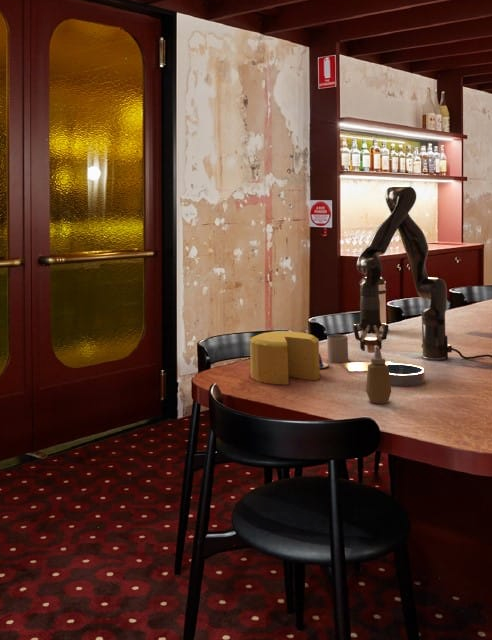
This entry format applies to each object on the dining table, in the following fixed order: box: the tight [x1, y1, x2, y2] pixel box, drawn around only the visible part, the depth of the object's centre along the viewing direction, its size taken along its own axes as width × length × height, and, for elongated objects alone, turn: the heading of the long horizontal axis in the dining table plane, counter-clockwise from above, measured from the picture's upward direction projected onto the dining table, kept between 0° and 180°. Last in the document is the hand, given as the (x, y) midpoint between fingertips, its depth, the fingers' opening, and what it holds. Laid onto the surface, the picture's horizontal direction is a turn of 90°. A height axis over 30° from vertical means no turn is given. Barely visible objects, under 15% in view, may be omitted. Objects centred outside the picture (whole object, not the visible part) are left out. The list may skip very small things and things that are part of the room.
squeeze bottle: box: [365, 346, 392, 405], centre depth 237 cm, size 8×8×18 cm
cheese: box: [249, 331, 320, 385], centre depth 275 cm, size 26×26×15 cm
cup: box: [326, 334, 349, 364], centre depth 299 cm, size 8×8×10 cm
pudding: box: [319, 353, 329, 370], centre depth 289 cm, size 12×12×5 cm
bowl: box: [386, 363, 426, 387], centre depth 262 cm, size 17×17×5 cm
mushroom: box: [364, 337, 378, 354], centre depth 283 cm, size 5×5×5 cm
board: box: [342, 361, 395, 373], centre depth 283 cm, size 20×14×1 cm
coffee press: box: [358, 276, 390, 334], centre depth 364 cm, size 17×16×30 cm
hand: (371, 350), depth 283 cm, fingers closed on mushroom, 5 cm apart
